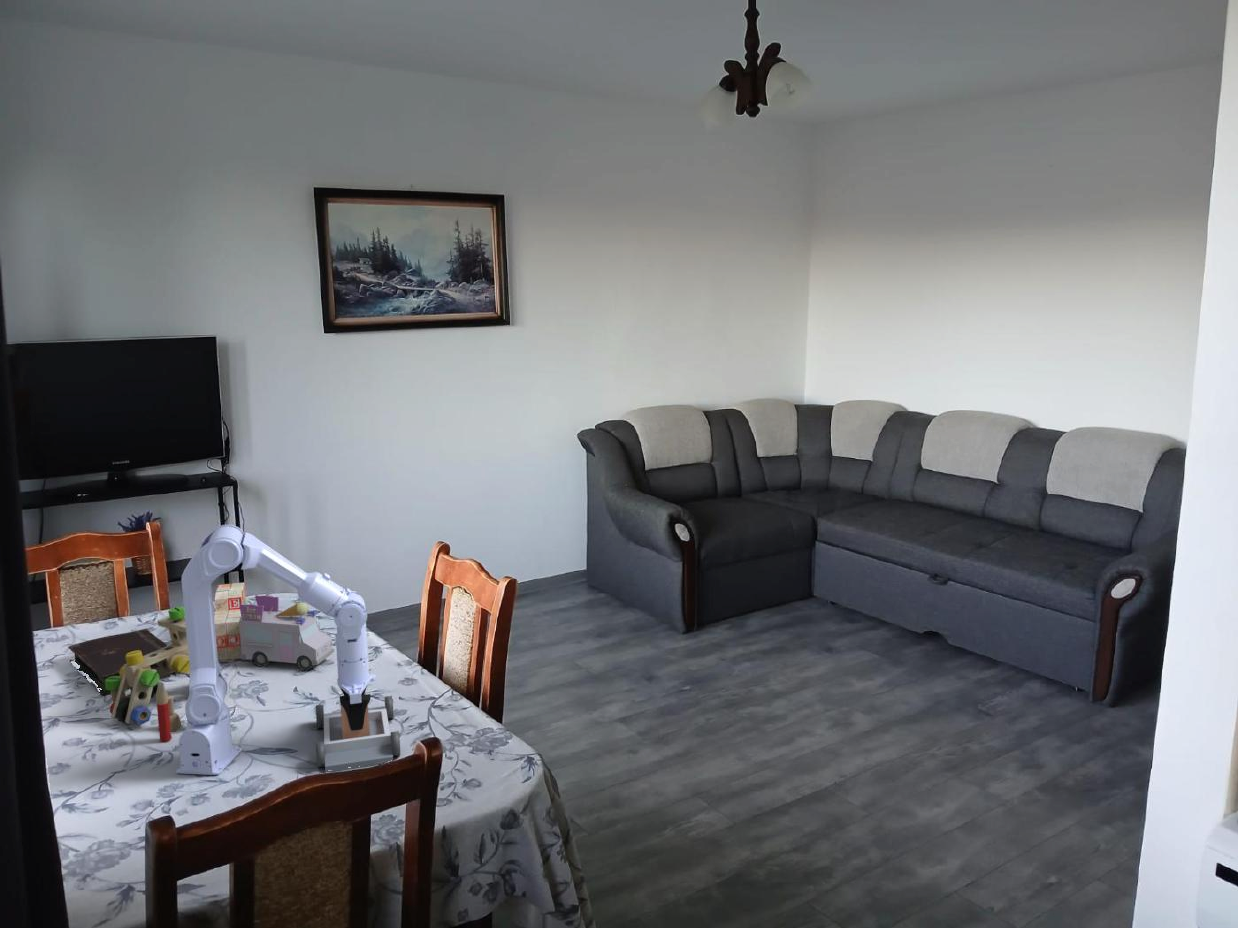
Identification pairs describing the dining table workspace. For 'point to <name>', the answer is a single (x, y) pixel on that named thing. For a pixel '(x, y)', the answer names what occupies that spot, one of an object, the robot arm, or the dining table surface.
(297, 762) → the dining table surface
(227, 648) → the stack of blocks
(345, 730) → the light orange block
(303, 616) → the toy vehicle
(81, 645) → the diary
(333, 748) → the chassis
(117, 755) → the dining table surface
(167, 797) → the dining table surface
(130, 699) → the toy construction set
